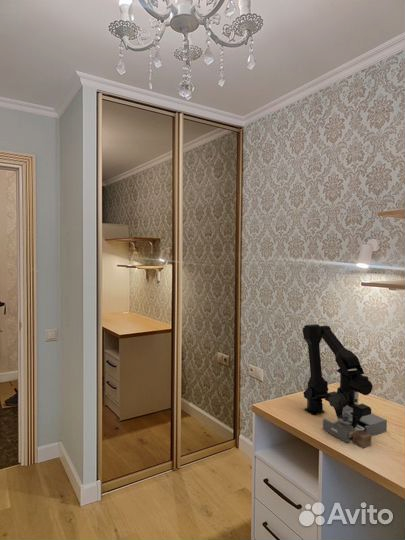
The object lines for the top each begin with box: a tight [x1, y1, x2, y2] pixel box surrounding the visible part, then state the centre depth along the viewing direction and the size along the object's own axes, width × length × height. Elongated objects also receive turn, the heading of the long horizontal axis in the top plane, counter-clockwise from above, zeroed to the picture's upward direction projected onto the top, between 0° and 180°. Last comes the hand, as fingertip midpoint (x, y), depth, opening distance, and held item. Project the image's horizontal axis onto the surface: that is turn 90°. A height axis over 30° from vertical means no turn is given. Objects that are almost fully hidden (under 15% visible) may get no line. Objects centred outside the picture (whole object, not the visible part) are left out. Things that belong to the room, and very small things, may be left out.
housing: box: [342, 410, 388, 437], centre depth 155 cm, size 13×12×5 cm
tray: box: [322, 418, 364, 444], centre depth 150 cm, size 12×12×4 cm
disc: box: [336, 415, 353, 426], centre depth 150 cm, size 7×7×2 cm
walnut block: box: [352, 430, 372, 449], centre depth 141 cm, size 4×4×4 cm
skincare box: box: [342, 392, 360, 414], centre depth 165 cm, size 6×4×12 cm
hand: (346, 424), depth 150 cm, fingers closed on disc, 7 cm apart
